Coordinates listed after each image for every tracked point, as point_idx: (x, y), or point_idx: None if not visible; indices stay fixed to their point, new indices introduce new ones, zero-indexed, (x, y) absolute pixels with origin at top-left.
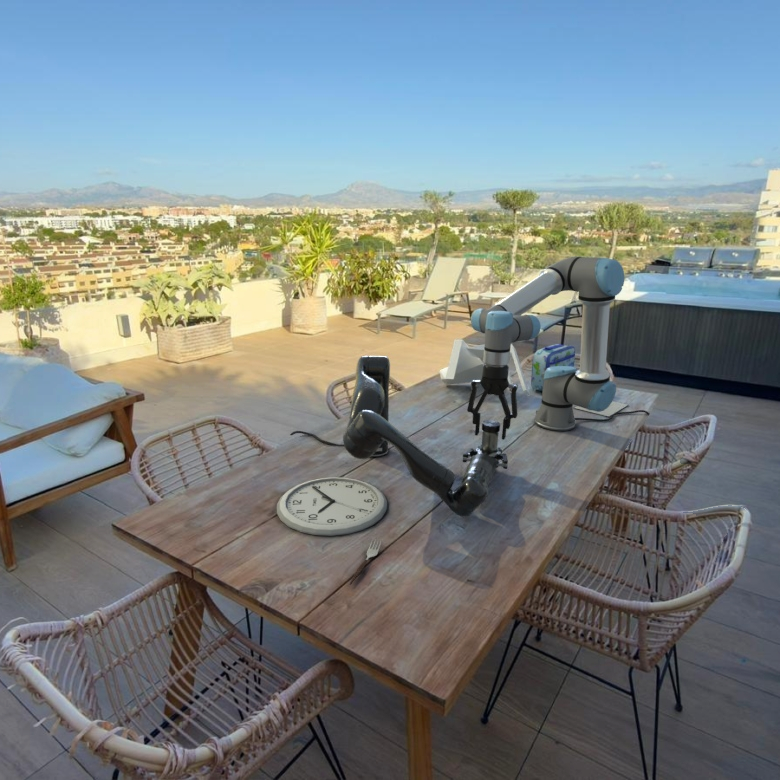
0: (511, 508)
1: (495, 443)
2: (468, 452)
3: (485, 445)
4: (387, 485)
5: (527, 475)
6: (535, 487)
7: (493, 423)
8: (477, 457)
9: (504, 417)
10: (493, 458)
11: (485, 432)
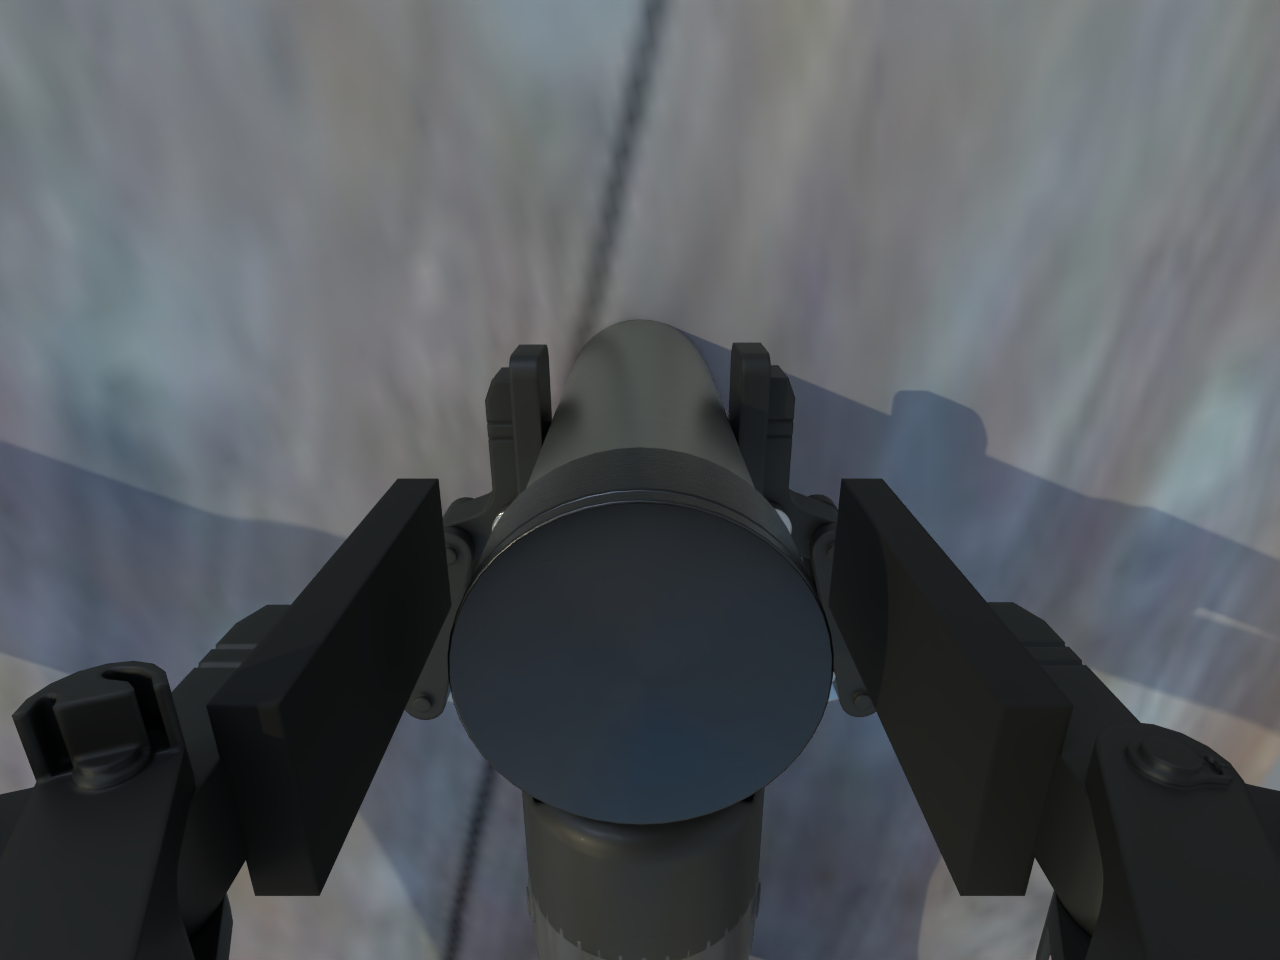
0: (875, 842)
1: None
2: (443, 651)
3: None
4: None
5: (1004, 340)
6: (1054, 534)
7: (688, 673)
8: (598, 933)
9: (989, 784)
10: None
11: None
